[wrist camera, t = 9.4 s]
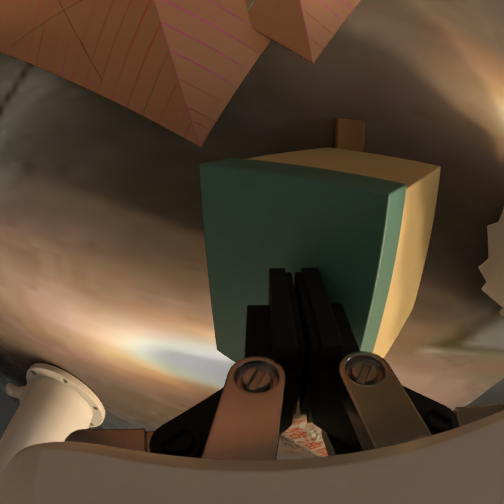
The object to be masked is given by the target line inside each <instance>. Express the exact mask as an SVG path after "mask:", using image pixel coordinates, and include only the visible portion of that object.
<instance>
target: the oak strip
mask: <svg viewBox="0 0 504 504" xmlns="http://www.w3.org/2000/svg"><path fill="white" fill-rule="evenodd" d="M364 134H365V121H364V120H357V119H346V118H336V131H335V148H336V149H344V150H352V151H359V152H364Z"/></svg>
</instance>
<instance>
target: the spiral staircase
mask: <svg viewBox="0 0 504 504" xmlns="http://www.w3.org/2000/svg"><path fill="white" fill-rule="evenodd" d="M487 235H488V259H487V260H486V261H485V262H484V263H482V264H481V265H480V266H479V267H478V268H479V270H480V272H481V273H482V275H483V277H484V279H485V280H486V283H485V285H484V286H483V287H482V291H483V292H484V293H486V294H487V295H488V296H489V297H491V298H492V299H493V300H494V301H495V302H497V303H498V304H499V305H500V306H501V307H502V309H501V310H500V311H499V313H500V315H501V316H502V317H503V318H504V209H503V211H502V214H501V217H500V219H499V222H497V223H494V224H491V225H488V226H487Z"/></svg>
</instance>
